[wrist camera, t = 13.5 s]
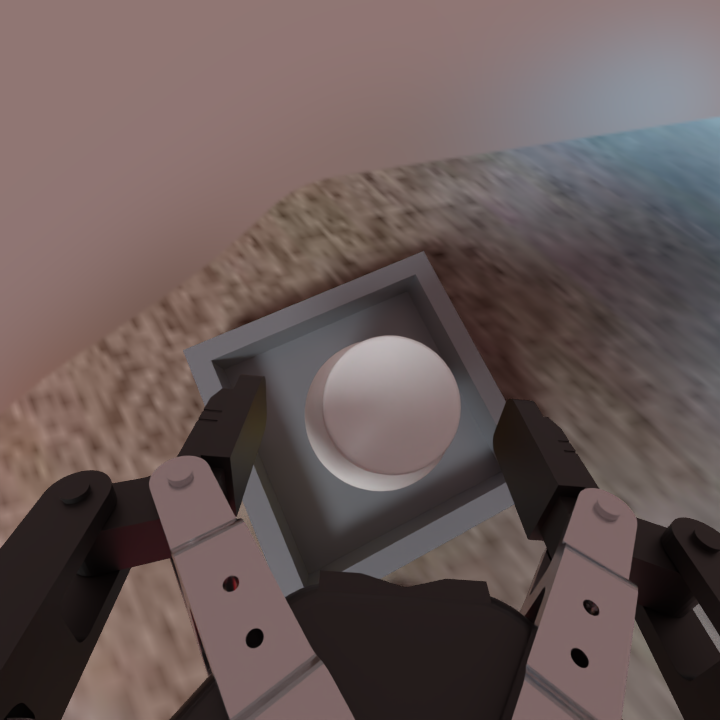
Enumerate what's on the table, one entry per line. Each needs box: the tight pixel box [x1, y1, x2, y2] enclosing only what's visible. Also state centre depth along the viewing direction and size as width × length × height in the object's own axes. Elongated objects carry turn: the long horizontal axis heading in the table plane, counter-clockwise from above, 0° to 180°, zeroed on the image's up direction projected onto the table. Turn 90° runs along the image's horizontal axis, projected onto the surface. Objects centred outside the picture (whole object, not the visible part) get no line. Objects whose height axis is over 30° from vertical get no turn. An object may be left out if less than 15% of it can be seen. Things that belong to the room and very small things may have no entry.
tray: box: [183, 251, 514, 597], centre depth 19 cm, size 13×13×3 cm
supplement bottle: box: [305, 335, 461, 491], centre depth 15 cm, size 5×5×10 cm
